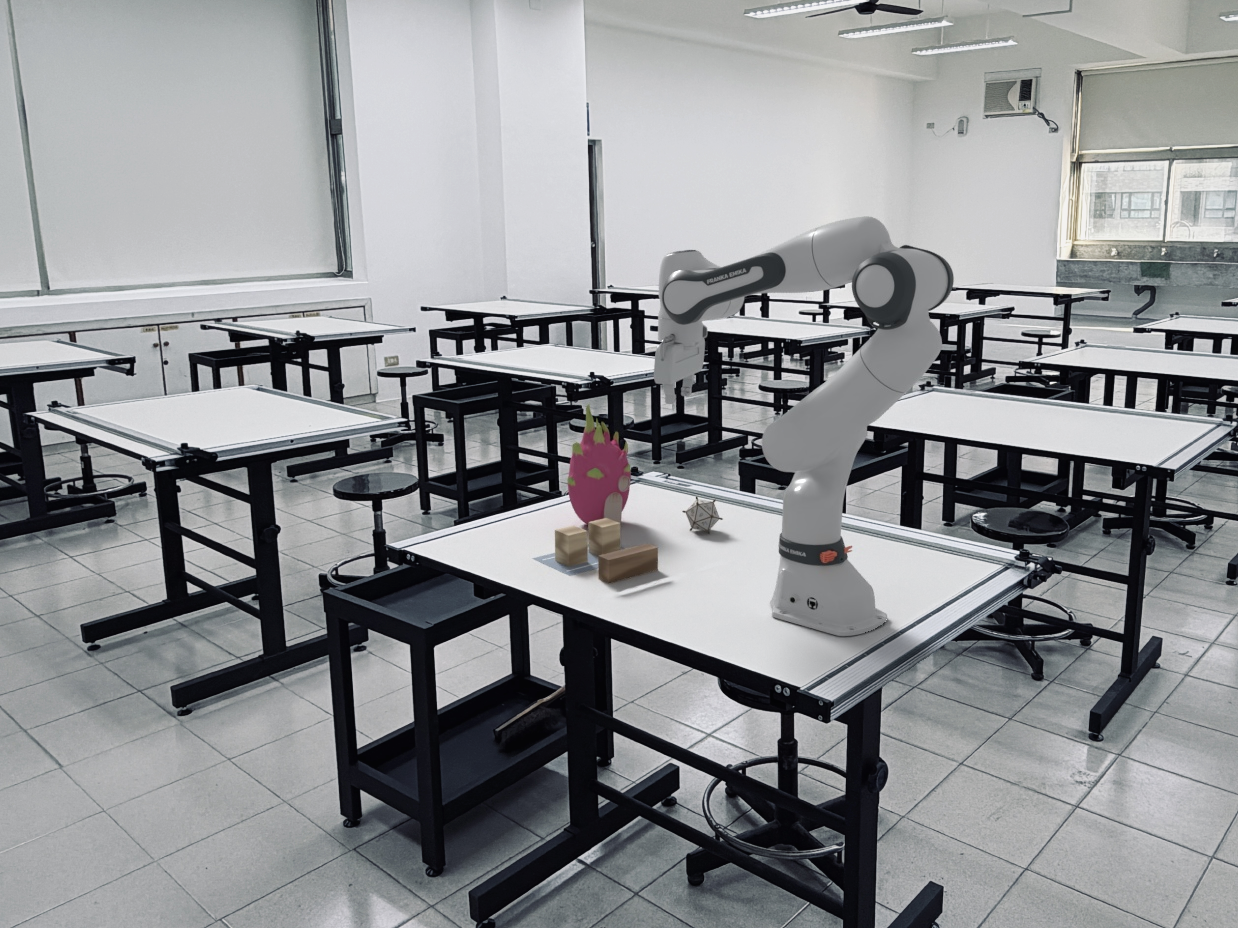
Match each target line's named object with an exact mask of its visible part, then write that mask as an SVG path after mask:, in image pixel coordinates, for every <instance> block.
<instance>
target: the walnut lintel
mask: <svg viewBox="0 0 1238 928" xmlns="http://www.w3.org/2000/svg"><path fill="white" fill-rule="evenodd" d="M658 570H659V547H658V546H655V545H653V544H651V543H648V542H647V543H642V544H639V545H634V546H631V547H628V548H625V549H623V550H619V551H615V552H611V553H607V554H603V555H599V556H598V572H597V573H598V575H597V576H598V580H600V581H602V582H604V583H606V584H609V585H610V584H613V583H616V582H621V581H625V580H628V579H631V578H635V577H637V576H641V575H646V574H649V573H650V574H651V573H654V572H656V571H658Z"/></svg>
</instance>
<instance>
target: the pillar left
mask: <svg viewBox="0 0 1238 928" xmlns="http://www.w3.org/2000/svg"><path fill="white" fill-rule="evenodd" d="M588 544H589V540H588V530H586V529H583V528H580V527H578V526H576V525H570V526H566V527H560V528H557V529H554V553H555V561H557V562H559V563H561V564H563V565H566V566H568V567H570V566H574V565H578V564H582V563H586V562H588Z"/></svg>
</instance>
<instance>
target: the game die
mask: <svg viewBox="0 0 1238 928" xmlns="http://www.w3.org/2000/svg"><path fill="white" fill-rule="evenodd" d="M715 502H716V499H713V500H712V501H710V500H705V499H699V498H698V496H697V495H696V496H695V501H694V502H693V503H692V504H691V505H690V507H688V508H687V509H686V510H681V511H682V513H684V514H686V517H687V520H688V522H689V523H688V524H689V525H690V528H689V532H692V530H699V531H704V532H706V533H707V534H708V535H710V530H711V529H712V528H713V527H714V525H716V524H717V522H718V521H719V520H720V521H722V520H724V518H723V517H720V515H719V513H718V512H719V511H718V510H717V508H716V504H715Z"/></svg>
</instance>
